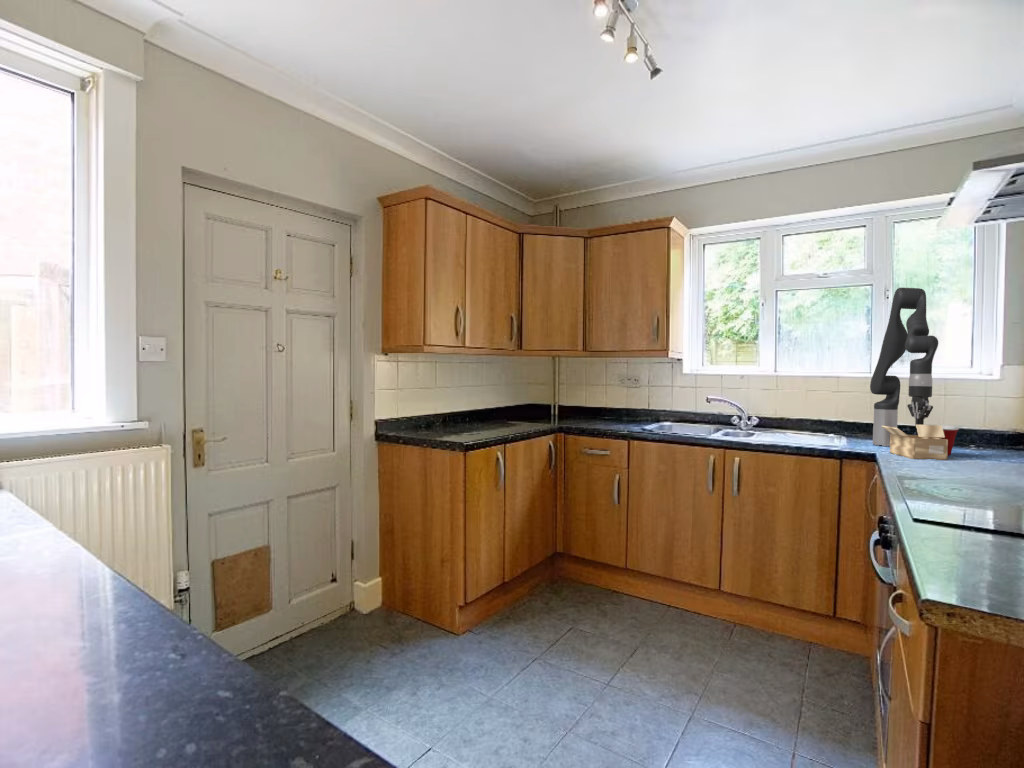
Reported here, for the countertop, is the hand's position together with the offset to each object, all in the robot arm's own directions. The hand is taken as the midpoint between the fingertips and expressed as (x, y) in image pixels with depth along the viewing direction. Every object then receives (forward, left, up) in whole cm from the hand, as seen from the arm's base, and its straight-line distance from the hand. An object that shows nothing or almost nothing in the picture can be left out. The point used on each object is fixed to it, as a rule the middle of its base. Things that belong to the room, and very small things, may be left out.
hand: (919, 428), depth 213 cm
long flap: (0, -9, -1) cm, 9 cm away
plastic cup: (-10, +15, -12) cm, 21 cm away
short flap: (+7, 0, -1) cm, 7 cm away
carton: (0, 0, -12) cm, 12 cm away
